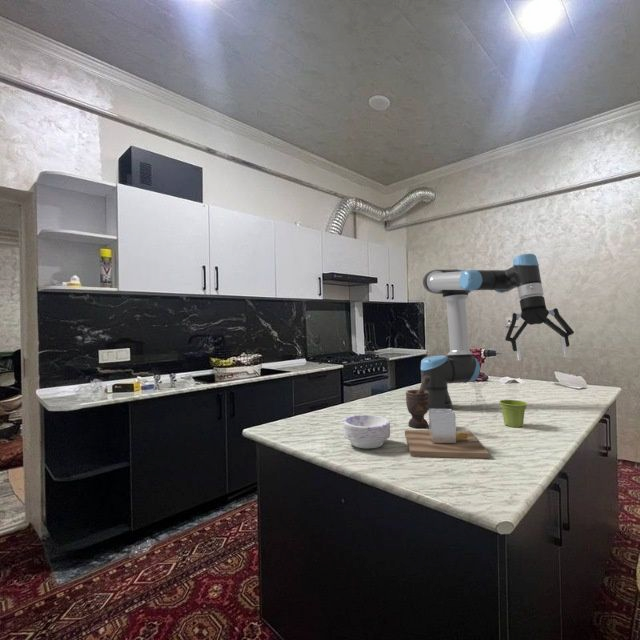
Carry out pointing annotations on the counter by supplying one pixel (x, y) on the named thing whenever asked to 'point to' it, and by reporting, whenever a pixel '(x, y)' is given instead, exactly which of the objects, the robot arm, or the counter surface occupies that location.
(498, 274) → the robot arm
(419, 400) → the mortar and pestle
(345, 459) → the counter surface
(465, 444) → the board
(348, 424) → the paper bowls
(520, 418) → the plant pot
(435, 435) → the grey block with bar
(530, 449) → the counter surface
